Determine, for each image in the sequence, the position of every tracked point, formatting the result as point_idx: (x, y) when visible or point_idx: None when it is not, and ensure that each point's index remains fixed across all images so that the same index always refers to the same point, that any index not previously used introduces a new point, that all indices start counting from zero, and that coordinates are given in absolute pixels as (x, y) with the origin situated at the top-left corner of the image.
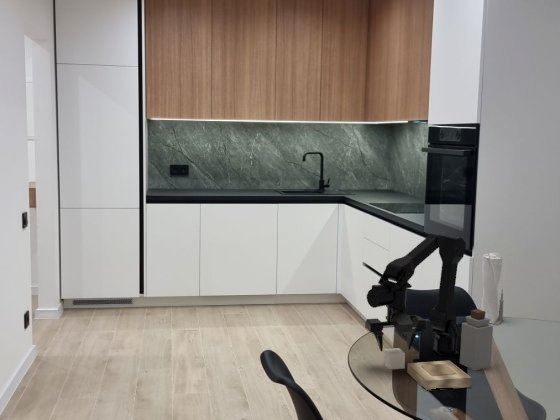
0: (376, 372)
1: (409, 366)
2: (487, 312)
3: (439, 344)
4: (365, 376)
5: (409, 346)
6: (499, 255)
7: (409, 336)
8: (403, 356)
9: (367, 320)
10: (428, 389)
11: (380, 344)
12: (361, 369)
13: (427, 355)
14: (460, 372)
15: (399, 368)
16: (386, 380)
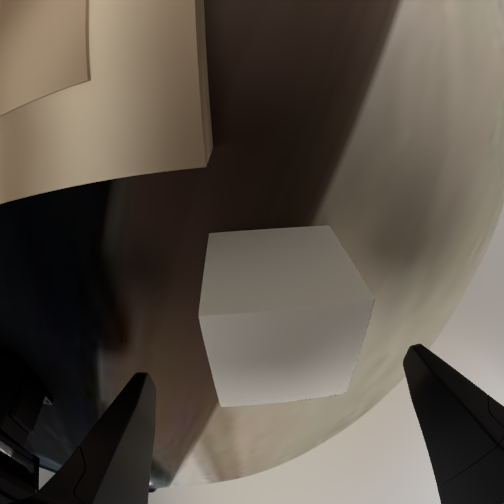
0: (429, 189)
1: (203, 112)
2: None
3: (12, 398)
4: (494, 148)
5: (134, 396)
6: None
7: (123, 494)
8: (217, 293)
9: None
10: None
11: (469, 383)
12: (467, 245)
13: (63, 368)
14: None
15: (250, 231)
16: (423, 45)
